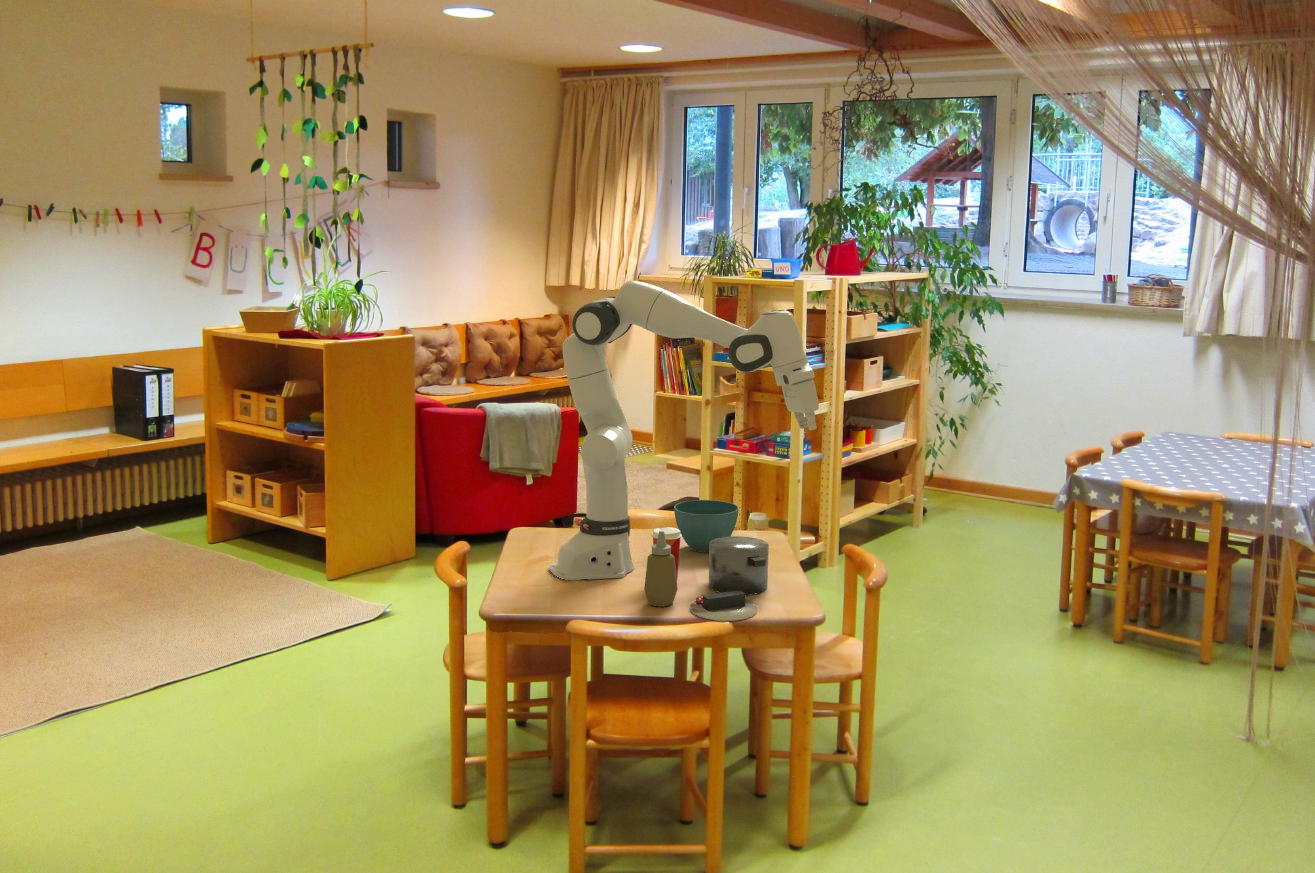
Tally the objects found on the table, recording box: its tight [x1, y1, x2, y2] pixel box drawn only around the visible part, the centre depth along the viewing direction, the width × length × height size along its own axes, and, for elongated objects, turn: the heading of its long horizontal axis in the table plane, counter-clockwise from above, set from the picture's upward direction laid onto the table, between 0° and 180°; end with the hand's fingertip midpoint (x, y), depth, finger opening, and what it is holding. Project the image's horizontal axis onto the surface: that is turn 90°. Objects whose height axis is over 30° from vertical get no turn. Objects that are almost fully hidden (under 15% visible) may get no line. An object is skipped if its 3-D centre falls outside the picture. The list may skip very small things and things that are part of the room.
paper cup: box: [651, 526, 683, 579], centre depth 296 cm, size 8×8×14 cm
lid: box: [689, 590, 758, 622], centre depth 277 cm, size 16×16×4 cm
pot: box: [708, 535, 770, 596], centre depth 295 cm, size 15×22×11 cm
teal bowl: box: [673, 499, 740, 554], centre depth 328 cm, size 18×18×12 cm
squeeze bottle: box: [643, 531, 678, 607], centre depth 280 cm, size 8×8×18 cm
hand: (808, 428), depth 283 cm, fingers open, 8 cm apart
